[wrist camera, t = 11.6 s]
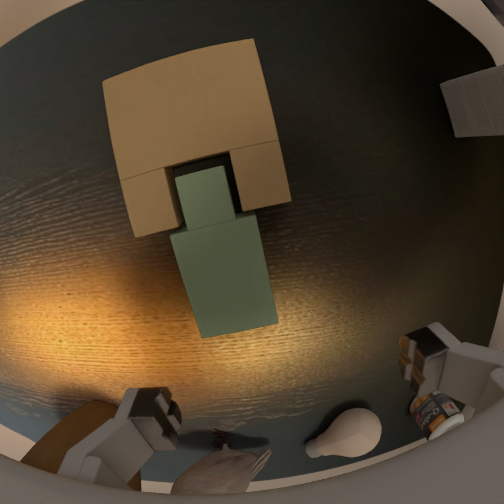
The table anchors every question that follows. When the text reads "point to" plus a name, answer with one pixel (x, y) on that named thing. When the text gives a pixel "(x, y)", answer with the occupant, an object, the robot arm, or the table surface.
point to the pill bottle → (435, 414)
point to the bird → (221, 471)
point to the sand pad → (193, 130)
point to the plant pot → (72, 438)
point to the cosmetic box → (476, 103)
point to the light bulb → (347, 435)
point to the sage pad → (221, 257)
